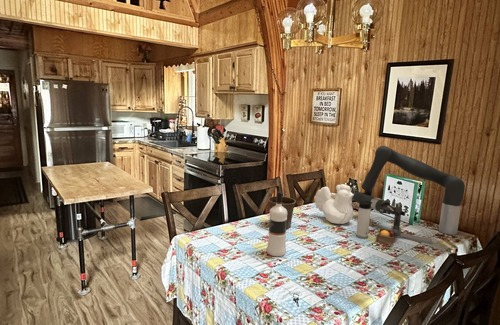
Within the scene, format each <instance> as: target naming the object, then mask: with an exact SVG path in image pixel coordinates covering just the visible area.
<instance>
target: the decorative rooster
mask: <svg viewBox="0 0 500 325" xmlns="http://www.w3.org/2000/svg"><path fill="white" fill-rule="evenodd" d="M335 189H336V193H335V192H331V191H330V188H329V187H328V186H324V187H321V189H318V190H317V191H316V194H315V195H314V203H315V206H316V208H318V211H320V212H322V213H323V216H324V217H325V219H326V220H327V221H328V222H329V223H331V224H338V225H344V224H347V223H349V222H350V221H351V220H352V219H353V216H354V208H353V198H354V194H355V193H352V191H351V186H350V185H347V184H345V183H342V184H337V185H336V186H335ZM333 196H334V198H333Z"/></svg>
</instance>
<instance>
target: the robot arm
mask: <svg viewBox="0 0 500 325" xmlns="http://www.w3.org/2000/svg"><path fill="white" fill-rule="evenodd" d="M387 163H391V164H393V165H395V166H397V167H398V168H400V169H401V170H402V171H405V172H406V173H408V174H410V175H412V176H414V177H416V178H419V179H421V180H422V179H423V180H426V181H430V182H433V183H435V184H437V185H440V186H441V187H443V188H445V190H444V196H443V198H442V203H441V210H440V218H439V219H440V220H439V225H438V231H439V232H440V233H442V234H444V235H448V236H449V235H450V236H456V235H457V233H458V229H459V228H458V227H459V222H460V216H461V208H462V203H463V200H464V195H465V191H466V190H465V189H466V184H465V182H464V181H463V180H462V179H461V177H458V176H456V175H453V174H449V173H446V172H443V171H441V170H438V169H436V168H435V167H433V166H431V165H429V164H427V163H425V162H422V161H420V160H418V159H416V158H413V157H411V156H408V155H404V154H402V153H400V152H398V151H395V150H394V149H392V148H390V147H389V146H386V145H380V146H378V147H377V148H376V149H375V152H374V158H373V161H372V165H371V167H370V168H369V171H367V173H366V175H365V178H364V179H363V182H362V184H361V188H362V189H361V190H364V192H362V191H356V192H355V193H353V194H354V195H353V200H354V201H355V203H357V204H359V203H360V202H362V201H369V202H372V204H371V209H373V210H374V211H376V212H379V213H381V214H385V215H393V216H395V215H396V216H400V212H397V211H395V207H396V206H394V205H391V203H390V202H389V201H387V200H384V199H383V198H379V197H376V196H373V194H372V193H373V190H374V188H375V186H376V183H377V182H378V178H379V176H380V174H381V172H382V170H383V168H384V167H385V166H386V164H387ZM401 216H403V217H405V216H406V212H405V210H402V211H401Z"/></svg>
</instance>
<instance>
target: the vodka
mask: <svg viewBox="0 0 500 325" xmlns="http://www.w3.org/2000/svg"><path fill="white" fill-rule="evenodd" d="M276 196H277V198H276V206H274V207H272V208H271V209H270V208H269V219H268V220H269V222H268V223H269V224H268V240H267V246H266V252H267V254H268V255H270V256H271V257H283V256H285V255H286V253H287V246H286V242H287V241H286V238H287V229H286V220H287V210H286V209H285V208H284V207H283V206H282V196H283V192H282V191H276Z"/></svg>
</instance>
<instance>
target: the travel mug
mask: <svg viewBox="0 0 500 325" xmlns="http://www.w3.org/2000/svg"><path fill="white" fill-rule="evenodd" d="M371 204H372V202H369V201H362V202H360V203H358V209H357V210H358V211H357V223H356V234H355V235H356V237H358V238H359V239H368V237H369V229H370V220H371V211H372V208H371Z"/></svg>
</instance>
